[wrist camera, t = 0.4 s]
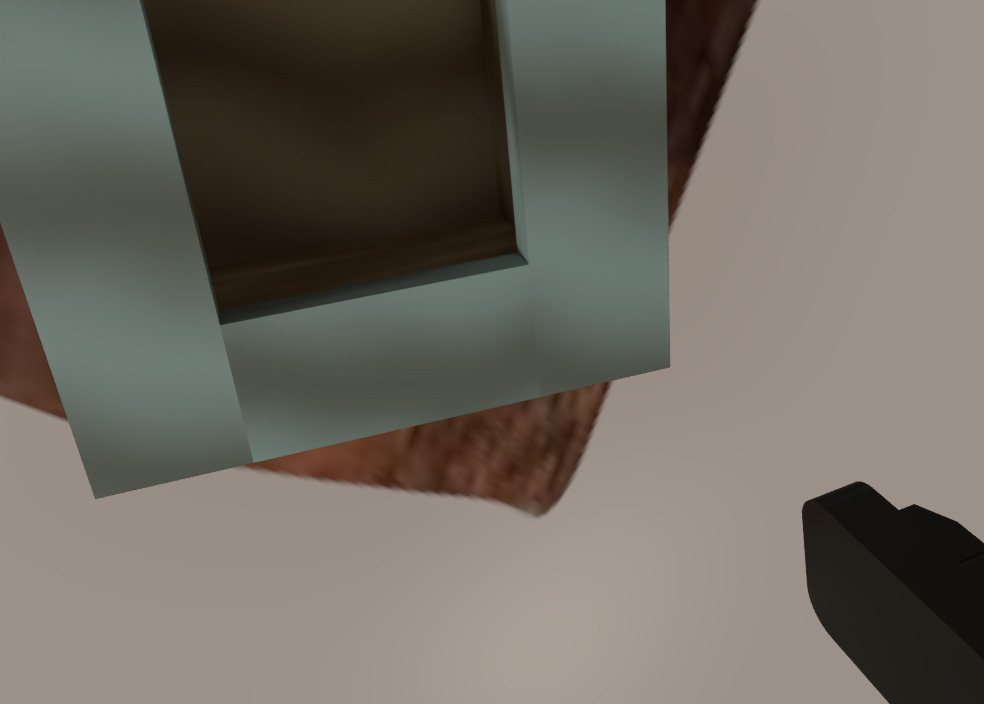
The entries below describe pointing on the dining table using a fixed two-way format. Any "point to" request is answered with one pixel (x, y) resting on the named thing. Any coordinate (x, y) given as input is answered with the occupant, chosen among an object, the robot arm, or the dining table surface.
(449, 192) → the drop box
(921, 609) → the robot arm
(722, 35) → the dining table surface
